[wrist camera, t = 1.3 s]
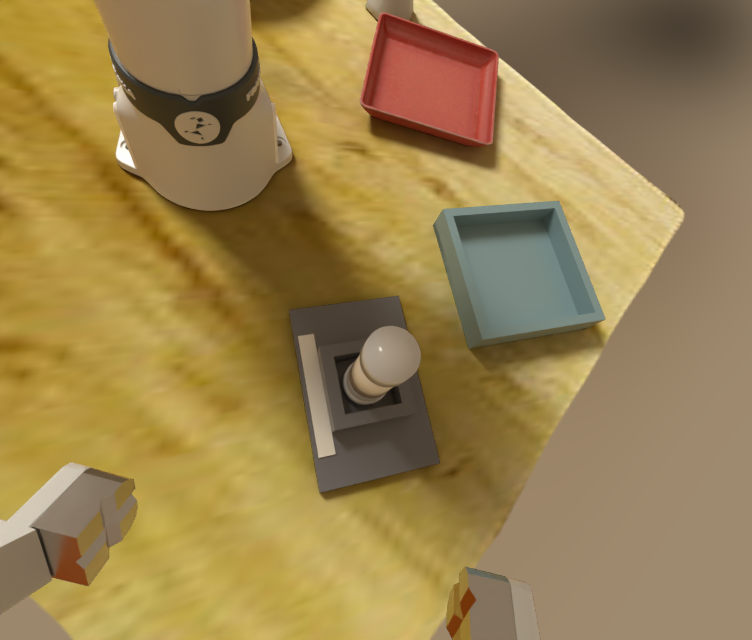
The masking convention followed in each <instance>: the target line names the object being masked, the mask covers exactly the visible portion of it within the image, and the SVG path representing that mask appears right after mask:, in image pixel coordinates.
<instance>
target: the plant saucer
mask: <svg viewBox="0 0 752 640" xmlns="http://www.w3.org/2000/svg"><path fill="white" fill-rule="evenodd" d="M498 60H499V56H498V53H497V52H496V51H494V50H492V49H489V48H486V47H483V46H480V45H477V44H475V43H471V42H469V41H466V40H463V39H460V38H457V37H454V36H452V35H449V34H446V33H443V32H440V31H438V30H434V29H432V28H429V27H426V26H423V25H420V24H417V23H414V22H412V21H409V20H406V19H403V18H400V17H397V16H394V15H391V14H389V13H384V12H383V13H380V15H379V19H378V23H377V27H376V32H375V36H374V40H373V44H372V49H371V53H370V58H369V62H368V67H367V71H366V76H365V80H364V84H363V89H362V93H361V97H360V104H361V105H362V107H363V108H364V109H365V110H366V111H367V112H368V113H369V114H370V115H372V116H373V117H375V118H378V119H381V120H385V121H388V122H391V123H395V124H398V125H401V126H404V127H408V128H411V129H414V130H417V131H421V132H424V133H427V134H430V135H434V136H437V137H440V138H443V139H446V140H450V141H453V142H456V143H459V144H463V145H466V146H472V147H481V146H489V145H491V144H492V143H493V132H494V116H495V101H496V90H497V88H496V87H497V76H498V75H497V73H498Z"/></svg>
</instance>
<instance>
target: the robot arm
mask: <svg viewBox="0 0 752 640" xmlns="http://www.w3.org/2000/svg"><path fill="white" fill-rule="evenodd" d="M93 1H94V3H95V5H96V7H97V10H98V12H99V14H100V17H101V19H102V21H103V24H104V26H105V29H106V31H107V34H108V36H109V41H108V47H109V52H110V56H111V60H112V63H113V64H112V65H113V69H114V71H115V74H116V78H117V82H118V85H119V86H120V87H115V88H114V91H113V93H114V99H115V101H116V102H114V103H113V108H114V112H115V115H116V118H117V121H118V123H119V126H120V129H121V131H120V135H119V140H118V144H117V149H116V159H117V162H118V164H119V165H120V166H121V167H122V168H123V169H125V170H127V171H129V172H131V173H133V174H135V175H138V176H140V177H142V178H143V179H145V180H146V181H147V182H148V183H149V184H150V185H151V186H152V187H153V188H154V189H155V190H156V191H157V192H158V193H159V194H161V195H162V196H163V197H165V198H166V199H168V200H170V201H172V202H174V203H176V204H178V205H181V206H184V207H187V208H191V209H197V210H206V211H215V210H224V209H229V208H233V207H236V206H239V205H242V204H244V203H246V202H248V201H250V200H251V199H253V198H254V197H256V196H257V195H258V194H259V193H260V192H261V191H262V190H263V189H264V188H265V186H266V185H267V184H268V182H269V180H270V179H271V177H272V176H273V174H274V173H275V172H276V171H278V170H279V169H281V168H282V167H284V166H285V165H287V164H288V163H289V162H290V161H291V160H292V149H291V146H290V144H289V142H288V140H287V137H286V135H285V133H284V130H283V128H282V126H281V124H280V121H279V119H278V117H277V114H276V109H275V104H274V103H272V102H271V101H270V98H269V96H268V93H267V91H266V89H265V87H264V85H263V82H262V80H261V78H260V63H259V57H258V52H257V47H256V44H255V41H254V39H253V37H252V28H251V9H250V0H93ZM277 145H281V146H277ZM134 490H135V483H134V479H131V478H127V477H123V476H120V475H116V474H112V473H108V472H105V471H101V470H97V469H94V468H92V467H88V466H84V465H80V464H76V463H72V462H71V463H69V464H67V465H66V466H64V467H62V468H61V469H60V470H59V471H58V472H57V473H56V474H55V475H54V476H53V477H52V478H51V479H50V480H49V481H48V482H47V483H46V484H45V485H43V486H42V487H41V488H40V489H39V490H38V491H37V492H36V493H35V494H34V495H33V496H32V497H31V498H30V499H29V500H28V501H27V502H26V503H25V504H24V505H23V506H22V507H21V508H20V509H19V510H18V511H17V512H16V513H15V514H14V515H13V516H12V517H11V518H10V519H9V520H8V521H6V520H0V615H1V614H2V613H4V612H5V611H7V610H8V609H10V608H11V607H13V606H14V605H16V604H17V603H19V602H20V601H22V600H23V599H25V598H26V597H28V596H29V595H31V594H32V593H34V592H35V591H37V590H38V589H40V588H41V587H43V586H44V585H46V584H47V583H49V582H50V581H52V578H56V579H60V580H64V581H69V582H73V583H77V584H81V585H85V586H89V585H90V584H91V583H92V581H93V580H94V578H95V577H96V576H97V574H98V573H99V572H100V570H101V569H102V567H103V566H104V565H105V563H106V562H107V561H108V559H109V547H111V546H113V545H115V544H116V543H118V542H120V541H122V540H123V538H124V537H125V536H126V534H127V533H128V531H129V530H130V528H131V526H132V524H133V522H134V519H135V517H136V514H137V508H138V505H137V500H136V499H135V498H134V496H133V495H132V494H131V493H132V492H133V491H134ZM446 621H447V622H446V623H447V624H446V628H447V630H448V632H449V634H450V636H451V638H452V640H540V634H539V628H538V622H537V616H536V610H535V605H534V599H533V593H532V589H531V587H530V585H529V584H528V583H526V582H523V581H519V580H515V579H511V578H507V577H505V576H501V575H497V574H493V573H489V572H485V571H481V570H477V569H473V568H469V567H464V568H462V570H461V572H460V574H459V583H457V584H455V585H454V586H453V588H452V590H451V592H450V596H449V600H448V605H447V619H446Z"/></svg>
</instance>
